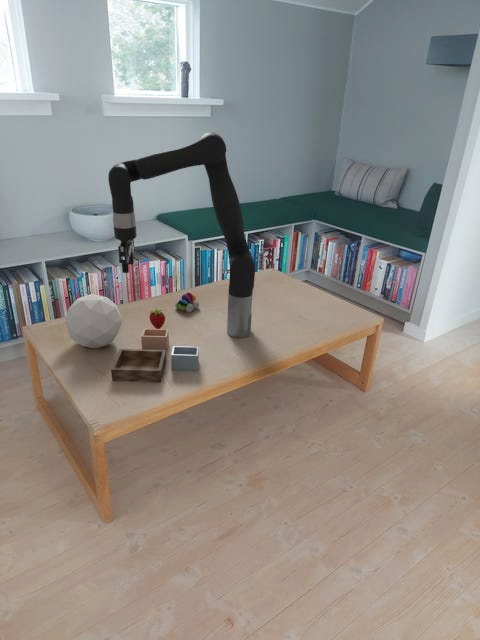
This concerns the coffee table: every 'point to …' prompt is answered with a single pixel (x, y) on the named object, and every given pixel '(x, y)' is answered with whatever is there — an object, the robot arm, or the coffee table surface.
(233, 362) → the coffee table surface
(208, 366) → the coffee table surface
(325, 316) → the coffee table surface
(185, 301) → the colourful round cluster
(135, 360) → the walnut crate
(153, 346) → the terracotta crate
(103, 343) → the geometric orb
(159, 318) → the strawberry
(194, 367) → the blue-grey hollow box
